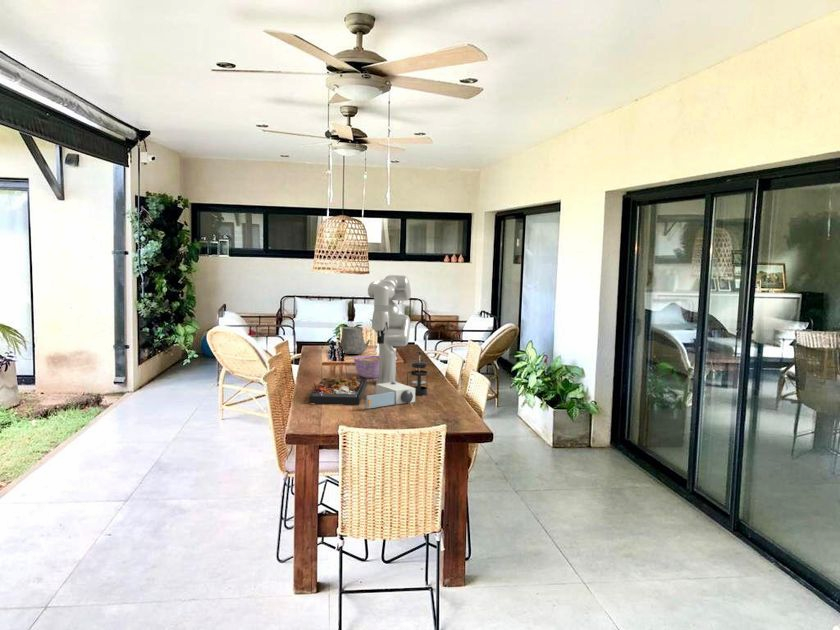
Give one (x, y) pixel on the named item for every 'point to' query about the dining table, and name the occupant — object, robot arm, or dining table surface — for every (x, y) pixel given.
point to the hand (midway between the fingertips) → (380, 343)
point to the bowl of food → (367, 366)
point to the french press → (419, 377)
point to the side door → (381, 400)
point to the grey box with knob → (403, 391)
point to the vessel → (353, 340)
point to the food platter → (338, 391)
